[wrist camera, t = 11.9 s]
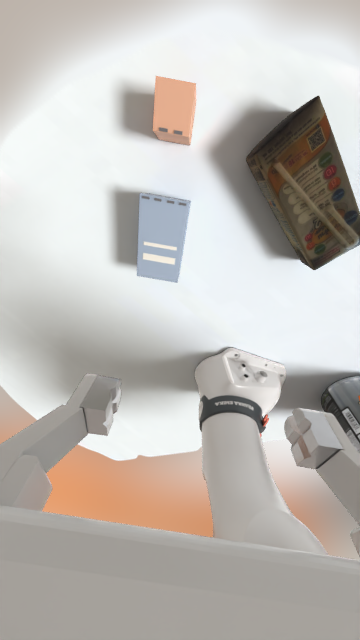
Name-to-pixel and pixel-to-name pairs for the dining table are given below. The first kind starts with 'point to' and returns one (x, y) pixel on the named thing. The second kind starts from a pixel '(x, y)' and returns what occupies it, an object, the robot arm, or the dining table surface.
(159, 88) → the stub
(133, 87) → the dining table surface
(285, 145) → the beverage carton
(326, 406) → the supplement tub
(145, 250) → the double-striped slate block
